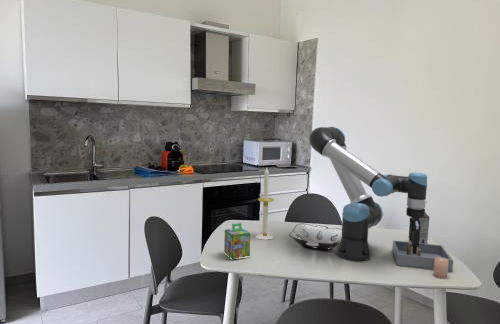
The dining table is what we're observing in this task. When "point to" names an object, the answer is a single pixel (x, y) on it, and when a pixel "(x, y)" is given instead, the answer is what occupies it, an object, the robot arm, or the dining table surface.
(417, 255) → the walnut cube
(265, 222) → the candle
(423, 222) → the coffee box
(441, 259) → the terracotta cylinder
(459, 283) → the dining table surface
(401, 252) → the tray
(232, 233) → the chalk box
